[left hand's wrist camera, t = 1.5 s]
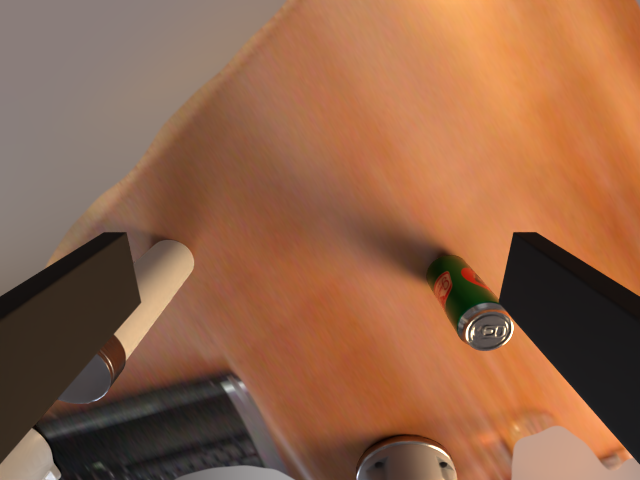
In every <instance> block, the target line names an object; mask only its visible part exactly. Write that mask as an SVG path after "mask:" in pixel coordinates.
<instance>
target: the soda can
mask: <svg viewBox="0 0 640 480" xmlns="http://www.w3.org/2000/svg"><path fill="white" fill-rule="evenodd" d="M426 278H427V282H428V284H429V286H430V288H431V289H432V291H433V293H434V295H435V296H436V298H437V300H438V301H439V303H440V305H441V307H442V308H443V310H444V312H445V313H446V315H447V317H448V319H449V320H450V322H451V324H452V325H453V327H454V329H455V331H456V332H457V334H458V336H459V337H460V339H461V340H462V341H463V342H465V343H466V344H468V345H470V346H471V347H473V348H474V349H477V350H481V351H489V350H494V349H497V348H499V347H501V346H502V345H504V344H505V343H506V342H507V341H508V340H509V338H510V337H511V335H512V332H513V324H512V320H511V316H510V315H509V314H508V313H507V312H506V311H505V309H504V308H503V307H502V306H501V305H500V304H499V299H498V298H497V297H496V296H495V294H494V293H493V292H492V291H491V290H490V289H489V288H488V287H487V285H486V284H485V283H484V282H483V281H482V280H481V279H480V278H479V276H478V275H477V274H476V273H475V272H474V271H473V270H472V269H471V267H470V266H469V265H468V264H467V263H466V262H465V261H464V260H463V259H462V258H460V257H458V256H455V255H446V256H442V257H440V258H438V259H436V260H435V261H433V263H432V264H431V265H430V266H429V268H428V270H427V274H426Z"/></svg>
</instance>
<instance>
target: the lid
mask: <svg viewBox="0 0 640 480" xmlns="http://www.w3.org/2000/svg"><path fill="white" fill-rule="evenodd" d="M125 363H126V353H125V350H124V347H123V345H122V344H121V342H120V340H119V339H118V338H117V337H116V336H115V335H113V336H112V337H111V338H110V339H109V340H108V342H107V343H106V344H105V345H104V346H103V347H102V348H101V350H100V351H99V352H98V353H97V354H96V355H95V356H94V358H93V359H92V360H91V361H90V362H89V363H88V364H87V366H86V367H85V368H84V369H83V370H82V371H81V372H80V374H79V375H78V376H77V377H76V378H75V379H74V380H73V382H72V383H71V384H70V385H69V386H68V387H67V388H66V390H65V391H64V392H63V393H62V394H61V395H60V397H59V398H58V400H61V401H64V402H68V403H77V404H81V403H89V402H93V401H95V400H98V399H99V398H101V397H102V396H104V395H105V394H106V392H107V391H108V390H109V388H110V387H111V386H112V384H113V383H114V382H115V380H116V379H117V377H118V376H119V375H120V373H121V372H122V370H123V369H124V366H125Z"/></svg>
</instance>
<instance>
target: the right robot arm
mask: <svg viewBox="0 0 640 480" xmlns="http://www.w3.org/2000/svg"><path fill="white" fill-rule="evenodd" d="M60 477H61V473H60V471H59V470H58V468H57V467H56V465H55V464H54V462H53V457H52V452H51V449H50V447H49V445H48V443H47V442H46V440H45V439H44V438H43V437H42V436H41V435H40V434H39V433H38V432H37V431H35V430H34V429H33V428H32V429H31V430H30V431H29V432H28V433H27V434H26V435H25V437H24V438H23V439H22V440H21V441H20V442H19V443H18V445H17V446H16V447H15V448H14V449H13V450H12V451H11V453H10V454H9V455H8V456H7V457H6V458H5V460H4V461H3V462H2V463H1V464H0V480H58V479H59V478H60Z"/></svg>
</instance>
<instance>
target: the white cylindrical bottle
mask: <svg viewBox="0 0 640 480" xmlns="http://www.w3.org/2000/svg"><path fill="white" fill-rule="evenodd" d="M133 265H134V270H135V275H136V279H137V284H138V289H139V293H140V298H141V304H140V305H139V306H138V307H137V308H136V309H135V311H134V312H133V313H132V314H131V315H130V316H129V317H128V319H127V320H126V321H125V322H124V323H123V324H122V325H121V327H120V328H119V329H118V330H117V331H116V332H115V334H114V335H115V336H116V337H117V338H118V339H119V340H120V342H121V344H122V345H123V347H124V350H125V353H126V360H127V359H128V357H129V356H130V355H131V353H132V352H133V350H134V349H135V348H136V346H137V345H138V344H139V342H140V341H141V340H142V338H143V337H144V336H145V334H146V333H147V332H148V330H149V329H150V327H151V326H152V325H153V323H154V322H155V321H156V319H157V318H158V317H159V315H160V314H161V313H162V311H163V310H164V309H165V307H166V306H167V304H168V303H169V302H170V300H171V299H172V298H173V296H174V295H175V294H176V292H177V291H178V290H179V288H180V287H181V286H182V284H183V283H184V281H185V280H186V279H187V277H188V276H189V275H190V273H191V272H192V270H193V268H194V258H193V255H192V253H191V251H190V250H189V249H188V248H187V247H186V246H185V245H184V244H182V243H180V242H178V241H175V240H163V241H160V242H158V243H156V244H155V245H154V246H153V247H152V248H150V249H149V250H148V251H147V252H146V253H145V254H144V255H143V256H141V257H140V258H139V259H138V260H137V261H136V262H135V263H133Z"/></svg>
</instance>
